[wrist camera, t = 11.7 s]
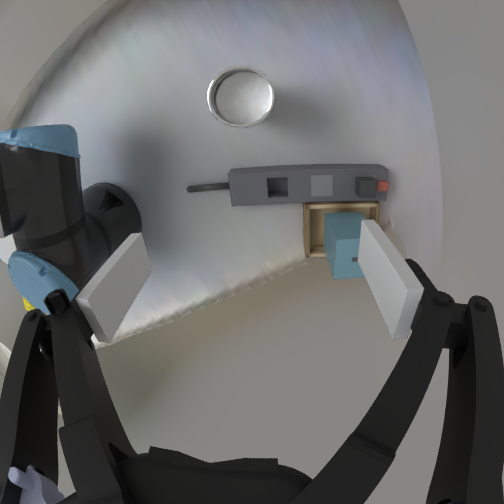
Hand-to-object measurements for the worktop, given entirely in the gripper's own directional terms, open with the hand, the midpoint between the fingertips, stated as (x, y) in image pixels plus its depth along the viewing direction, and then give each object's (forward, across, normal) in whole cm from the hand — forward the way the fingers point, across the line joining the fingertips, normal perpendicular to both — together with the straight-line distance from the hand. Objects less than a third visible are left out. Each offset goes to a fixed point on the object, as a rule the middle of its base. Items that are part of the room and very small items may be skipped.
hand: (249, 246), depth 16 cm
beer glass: (+29, -1, +9) cm, 30 cm away
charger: (+28, +12, -11) cm, 33 cm away
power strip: (+29, +3, -4) cm, 29 cm away
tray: (+29, +12, -12) cm, 33 cm away
